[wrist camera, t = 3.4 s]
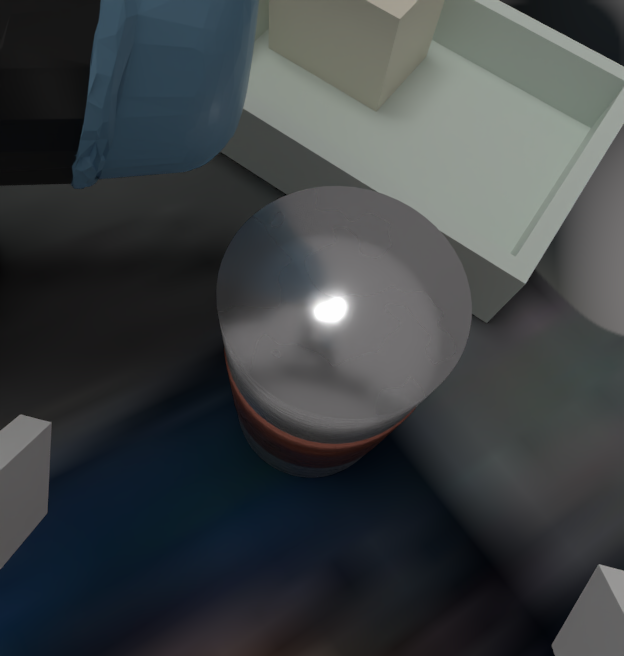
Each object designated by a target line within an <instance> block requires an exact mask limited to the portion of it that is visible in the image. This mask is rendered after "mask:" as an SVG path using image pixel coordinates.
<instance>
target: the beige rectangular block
mask: <svg viewBox="0 0 624 656" xmlns="http://www.w3.org/2000/svg"><path fill="white" fill-rule="evenodd" d="M444 1H445V0H269V48H270V49H271V50H273V51H275V52H276V53H278V54H280V55H281V56H283V57H285V58H286V59H288V60H290V61H291V62H293V63H295V64H296V65H298V66H300V67H302V68H303V69H305V70H307V71H308V72H310V73H312V74H313V75H315V76H317V77H318V78H320V79H322V80H323V81H325V82H327V83H328V84H330V85H332V86H334V87H335V88H337V89H339V90H340V91H342V92H344V93H345V94H347V95H349V96H350V97H352V98H354V99H355V100H357V101H359V102H361V103H362V104H364V105H366V106H367V107H369V108H371V109H372V110H374V111H377V110H378V109H379V108H380V107H381V106H382V105H383V104H384V103H385V101H386V100H387V99H388V98H389V97H390V96H391V95H392V94H393V93H394V92H395V90H396V89H397V88H398V87H399V86H400V85H401V84H402V83H403V82H404V80H405V79H406V78H407V77H408V76H409V75H410V74H411V73H412V72H413V70H414V69H415V68H416V67H417V66H418V65H419V64H420V63H421V62H422V60H423V59H424V58H425V57H426V56H427V53H428V50H429V47H430V44H431V41H432V38H433V35H434V32H435V29H436V26H437V23H438V20H439V16H440V13H441V10H442V7H443V4H444Z"/></svg>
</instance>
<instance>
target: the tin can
mask: <svg viewBox="0 0 624 656" xmlns="http://www.w3.org/2000/svg"><path fill="white" fill-rule="evenodd" d="M216 303H217V311H218V317H219V322H220V327H221V332H222V337H223V342H224V355H225V360H226V365H227V370H228V375H229V380H230V385H231V389H232V394H233V399H234V404H235V407H236V410H237V413H238V418H239V423H240V426H241V429H242V432H243V434H244V436H245V438H246V440H247V442H248V443H249V445H250V446H251V448H252V449H253V450H254V451H255V452H256V454H257V455H258V456H259V457H260V458H262V459H263V460H264V461H265V462H266V463H268V464H269V465H271V466H272V467H274V468H275V469H278V470H280V471H282V472H284V473H287V474H290V475H293V476H299V477H307V478H316V477H325V476H329V475H333V474H336V473H338V472H341V471H343V470H345V469H347V468H348V467H350V466H352V465H353V464H354V463H356V462H357V461H358V460H359V459H361V458H362V457H363V456H364V455H365V454H366V453H368V452H369V451H370V450H372V449H373V448H374V447H375V446H376V445H378V444H379V443H380V442H381V441H382V440H383V439H384V438H385V437H386V436H387V435H388V434H390V433H391V432H392V431H393V430H394V429H395V428H396V427H397V426H398V425H399V424H401V423H402V422H403V421H404V420H405V419H406V418H407V417H408V416H409V415H410V414H411V413H412V412H413V411H414V409H415V408H416V407H417V406H418V405H419V404H420V403H421V402H422V401H423V400H424V399H425V398H426V397H427V396H428V395H429V394H431V393H432V392H433V391H434V390H435V389H436V388H437V387H438V386H439V385H440V384H441V383H442V382H443V381H444V380H445V379H446V378H447V377H448V375H449V374H450V373H451V371H452V370H453V368H454V367H455V366H456V364H457V362H458V360H459V359H460V357H461V355H462V353H463V351H464V348H465V345H466V342H467V340H468V337H469V332H470V326H471V319H472V301H471V292H470V287H469V283H468V279H467V276H466V273H465V271H464V268H463V265H462V263H461V261H460V259H459V257H458V256H457V254H456V252H455V250H454V249H453V247H452V246H451V244H450V243H449V241H448V240H447V239H446V237H445V236H444V235H443V234H442V233H441V232H440V231H439V230H438V228H437V227H436V226H435V225H433V224H432V223H431V222H430V221H429V220H428V219H427V218H426V217H424V216H423V215H422V214H420V213H419V212H417V211H416V210H414V209H413V208H412V207H410V206H408V205H406V204H404V203H402V202H401V201H399V200H397V199H394V198H392V197H389V196H387V195H385V194H382V193H378V192H375V191H372V190H368V189H362V188H357V187H347V186H323V187H316V188H309V189H305V190H301V191H297V192H294V193H291V194H289V195H286V196H284V197H281V198H279V199H277V200H275V201H273V202H271V203H270V204H268V205H266V206H265V207H263V208H262V209H261V210H259V211H258V212H256V213H255V214H254V215H253V216H252V217H251V218H250V219H249V220H248V221H246V222H245V223H244V224H243V226H242V227H241V228H240V229H239V231H238V232H237V233H236V234H235V236H234V237H233V239H232V241H231V242H230V244H229V246H228V247H227V249H226V252H225V254H224V257H223V259H222V261H221V265H220V269H219V273H218V277H217V287H216Z"/></svg>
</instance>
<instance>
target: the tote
mask: <svg viewBox="0 0 624 656" xmlns="http://www.w3.org/2000/svg"><path fill="white" fill-rule="evenodd" d="M623 124H624V67H623V66H621V65H619V64H618V63H616V62H614V61H612V60H610V59H608V58H606V57H604V56H602V55H601V54H599V53H597V52H595V51H593V50H591V49H589V48H587V47H586V46H584V45H582V44H580V43H578V42H576V41H574V40H572V39H571V38H569V37H567V36H565V35H563V34H561V33H559V32H557V31H555V30H554V29H552V28H550V27H548V26H546V25H544V24H542V23H540V22H538V21H537V20H535V19H533V18H531V17H529V16H527V15H525V14H523V13H521V12H519V11H518V10H516V9H514V8H512V7H510V6H508V5H506V4H504V3H502V2H501V1H499V0H445V1H444V4H443V7H442V10H441V13H440V16H439V20H438V23H437V26H436V29H435V32H434V35H433V38H432V41H431V44H430V47H429V50H428V53H427V56H426V57H425V58H424V59H423V60H422V62H421V63H420V64H419V65H418V66H417V67H416V68H415V69H414V70H413V72H412V73H411V74H410V75H409V76H408V77H407V78H406V79H405V80H404V82H403V83H402V84H401V85H400V86H399V87H398V88H397V89H396V90H395V92H394V93H393V94H392V95H391V96H390V97H389V98H388V99H387V100H386V101H385V103H384V104H383V105H382V106H381V107H380V108H379V109H378V110H377V111H374V110H372V109H371V108H369V107H367V106H366V105H364V104H362V103H361V102H359V101H357V100H355V99H354V98H352V97H350V96H349V95H347V94H345V93H344V92H342V91H340V90H339V89H337V88H335V87H334V86H332V85H330V84H328V83H327V82H325V81H323V80H322V79H320V78H318V77H317V76H315V75H313V74H312V73H310V72H308V71H307V70H305V69H303V68H302V67H300V66H298V65H296V64H295V63H293V62H291V61H290V60H288V59H286V58H285V57H283V56H281V55H280V54H278V53H276V52H275V51H273V50H271V49H270V48H269V0H259V6H258V16H257V25H256V33H255V41H254V49H253V56H252V63H251V70H250V76H249V82H248V88H247V93H246V98H245V103H244V107H243V110H242V114H241V117H240V120H239V123H238V127H237V129H236V131H235V133H234V135H233V137H232V138H231V139H230V140H229V141H228V143H227V145H226V146H225V147H224V148H223V149H222V150H221V151H220V152H222V153H223V154H225V155H226V156H228V157H229V158H231V159H232V160H234V161H236V162H237V163H239V164H240V165H242V166H243V167H245V168H246V169H248V170H250V171H251V172H253V173H254V174H256V175H257V176H259V177H260V178H262V179H264V180H265V181H267V182H268V183H270V184H271V185H273V186H274V187H276V188H277V189H279V190H281V191H282V192H284V193H285V194H287V195H289V194H291V193H294V192H297V191H301V190H305V189H309V188H316V187H323V186H347V187H357V188H362V189H368V190H372V191H375V192H378V193H382V194H385V195H387V196H389V197H392V198H394V199H397V200H399V201H401V202H402V203H404V204H406V205H408V206H410V207H412V208H413V209H414V210H416V211H417V212H419V213H420V214H422V215H423V216H424V217H426V218H427V219H428V220H429V221H430V222H431V223H432V224H433V225H435V226H436V227H437V228H438V230H439V231H440V232H441V233H442V234H443V235H444V236H445V237H446V239H447V240H448V241H449V243H450V244H451V246H452V247H453V249H454V250H455V252H456V254H457V256H458V257H459V259H460V261H461V263H462V265H463V268H464V271H465V273H466V276H467V279H468V283H469V287H470V292H471V301H472V314H473V315H475V316H476V317H478V318H479V319H481V320H482V321H484V322H486V323H487V322H488V321H489V320H490V319H491V318H492V317H493V316H494V315H495V314H496V313H497V312H498V311H499V310H500V309H501V308H502V307H503V306H504V305H505V304H506V303H507V302H508V301H509V300H510V299H511V298H512V297H513V296H514V295H515V294H516V293H517V292H518V291H519V290H520V289H521V288H522V287H523V286H524V285H525V284H526V282H527V281H528V279H529V277H530V276H531V274H532V273H533V271H534V269H535V268H536V266H537V264H538V263H539V261H540V259H541V258H542V256H543V254H544V253H545V251H546V250H547V248H548V246H549V245H550V243H551V241H552V240H553V238H554V237H555V235H556V233H557V231H558V230H559V228H560V227H561V225H562V223H563V221H564V220H565V218H566V217H567V215H568V214H569V212H570V210H571V209H572V207H573V205H574V204H575V202H576V200H577V199H578V197H579V196H580V194H581V192H582V191H583V189H584V187H585V186H586V184H587V183H588V181H589V179H590V178H591V176H592V174H593V173H594V171H595V169H596V168H597V166H598V165H599V163H600V161H601V160H602V158H603V156H604V155H605V153H606V151H607V150H608V148H609V147H610V145H611V143H612V142H613V140H614V138H615V137H616V135H617V133H618V132H619V130H620V129H621V127H622V125H623Z"/></svg>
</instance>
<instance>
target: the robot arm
mask: <svg viewBox="0 0 624 656" xmlns="http://www.w3.org/2000/svg"><path fill="white" fill-rule="evenodd" d="M258 6H259V0H0V186H7V185H40V184H71V186H73V188H74V189H83V188H84V187H90V186H92V185H94V184H95V183H96V182H97V180H98V179H108V178H120V177H132V176H144V175H156V174H168V173H180V172H186V171H190V170H192V169H195V168H198V167H201V166H203V165H205V164H206V163H208V162H209V161H210V160H211V159H212V158H214V157H215V156H216V155H217V154H218V153H219V152H220V151H221V150H222V149H223V148H224V147H225V146H226V145H227V143H228V141H229V140H230V139H231V138H232V137H233V135H234V133H235V131H236V129H237V127H238V123H239V120H240V117H241V114H242V110H243V107H244V103H245V98H246V93H247V88H248V82H249V76H250V70H251V63H252V56H253V49H254V41H255V33H256V25H257V16H258ZM51 427H52V422H48V421H44V420H40V419H37V418H33V417H29V416H25V415H21V414H20V415H19V416H18V417H16V418H15V419H14V420H13V421H12V422H10V423H9V424H8V425H7V426H6V427H4V428H3V429H2V430H1V431H0V569H1V568H2V567H3V566H4V564H5V563H6V562H7V561H8V560H9V558H10V557H11V556H12V555H13V554H14V552H15V551H16V550H17V549H18V548H19V546H20V545H21V544H22V543H23V542H24V540H25V539H26V538H27V537H28V536H29V534H30V533H31V532H32V531H33V530H34V528H35V527H36V526H37V525H38V524H39V522H40V521H41V520H42V519H43V518H44V516H45V515H46V514H47V510H48V489H49V468H50V448H51ZM552 648H553V651H554V654H555V656H624V571H622V570H618V569H615V568H611V567H607V566H603V565H599V564H598V566H597V568H596V570H595V571H594V573H593V575H592V576H591V578H590V580H589V582H588V583H587V585H586V587H585V589H584V590H583V592H582V594H581V595H580V597H579V599H578V601H577V602H576V604H575V606H574V608H573V609H572V611H571V613H570V614H569V616H568V618H567V620H566V621H565V623H564V625H563V627H562V628H561V630H560V632H559V633H558V635H557V637H556V639H555V640H554V642H553V644H552Z"/></svg>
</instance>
